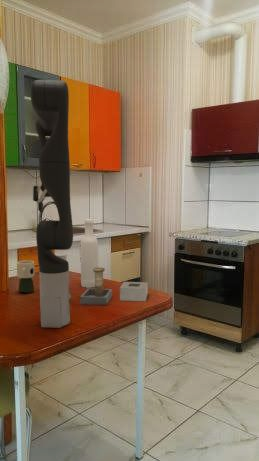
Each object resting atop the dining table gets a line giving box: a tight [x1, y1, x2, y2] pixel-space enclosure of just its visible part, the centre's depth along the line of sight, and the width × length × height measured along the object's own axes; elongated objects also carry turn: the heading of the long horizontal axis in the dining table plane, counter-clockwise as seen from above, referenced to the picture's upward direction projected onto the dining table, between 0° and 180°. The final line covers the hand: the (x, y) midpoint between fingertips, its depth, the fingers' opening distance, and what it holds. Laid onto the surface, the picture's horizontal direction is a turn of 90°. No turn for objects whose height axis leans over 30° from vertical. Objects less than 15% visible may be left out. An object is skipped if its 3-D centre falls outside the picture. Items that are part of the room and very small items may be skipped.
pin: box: [93, 267, 105, 297], centre depth 145 cm, size 4×4×12 cm
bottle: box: [79, 218, 99, 289], centre depth 167 cm, size 8×8×30 cm
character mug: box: [16, 260, 36, 294], centre depth 157 cm, size 11×7×13 cm, turn 5°
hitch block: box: [119, 281, 149, 302], centre depth 149 cm, size 10×10×5 cm
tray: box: [79, 288, 113, 306], centre depth 145 cm, size 12×10×3 cm
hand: (52, 212), depth 146 cm, fingers open, 8 cm apart
